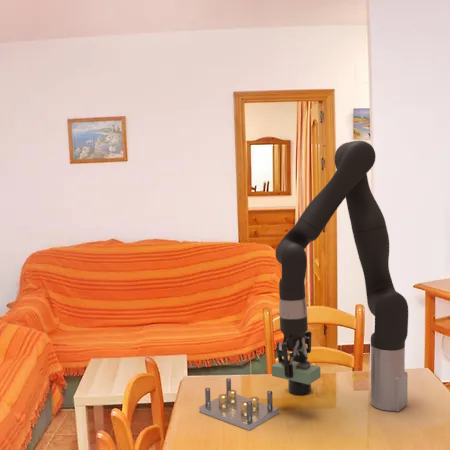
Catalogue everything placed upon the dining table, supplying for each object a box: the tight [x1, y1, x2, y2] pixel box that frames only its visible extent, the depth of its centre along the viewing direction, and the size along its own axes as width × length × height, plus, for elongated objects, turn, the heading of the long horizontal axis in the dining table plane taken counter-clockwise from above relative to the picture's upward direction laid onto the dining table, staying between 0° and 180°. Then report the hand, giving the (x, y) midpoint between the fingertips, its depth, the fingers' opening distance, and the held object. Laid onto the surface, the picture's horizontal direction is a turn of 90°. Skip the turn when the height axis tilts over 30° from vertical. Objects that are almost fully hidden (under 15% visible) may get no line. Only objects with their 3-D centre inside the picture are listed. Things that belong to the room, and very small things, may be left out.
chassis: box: [198, 377, 280, 431], centre depth 154 cm, size 18×13×6 cm
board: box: [271, 361, 322, 385], centre depth 152 cm, size 12×6×4 cm, turn 51°
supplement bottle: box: [287, 351, 312, 396], centre depth 167 cm, size 7×7×12 cm
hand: (296, 373), depth 152 cm, fingers closed on board, 6 cm apart
